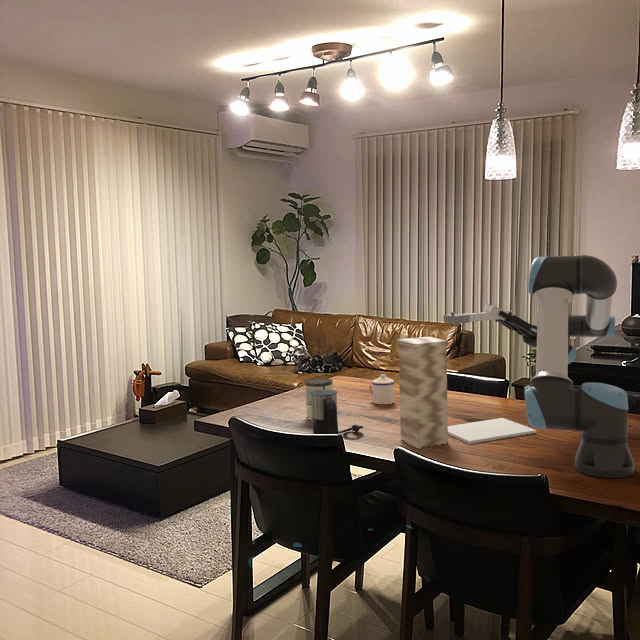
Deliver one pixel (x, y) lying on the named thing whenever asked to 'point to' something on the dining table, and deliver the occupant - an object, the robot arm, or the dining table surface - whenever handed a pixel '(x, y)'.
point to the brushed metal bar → (470, 317)
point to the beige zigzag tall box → (423, 391)
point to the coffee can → (313, 386)
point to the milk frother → (326, 413)
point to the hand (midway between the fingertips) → (488, 307)
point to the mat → (488, 430)
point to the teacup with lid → (382, 390)
